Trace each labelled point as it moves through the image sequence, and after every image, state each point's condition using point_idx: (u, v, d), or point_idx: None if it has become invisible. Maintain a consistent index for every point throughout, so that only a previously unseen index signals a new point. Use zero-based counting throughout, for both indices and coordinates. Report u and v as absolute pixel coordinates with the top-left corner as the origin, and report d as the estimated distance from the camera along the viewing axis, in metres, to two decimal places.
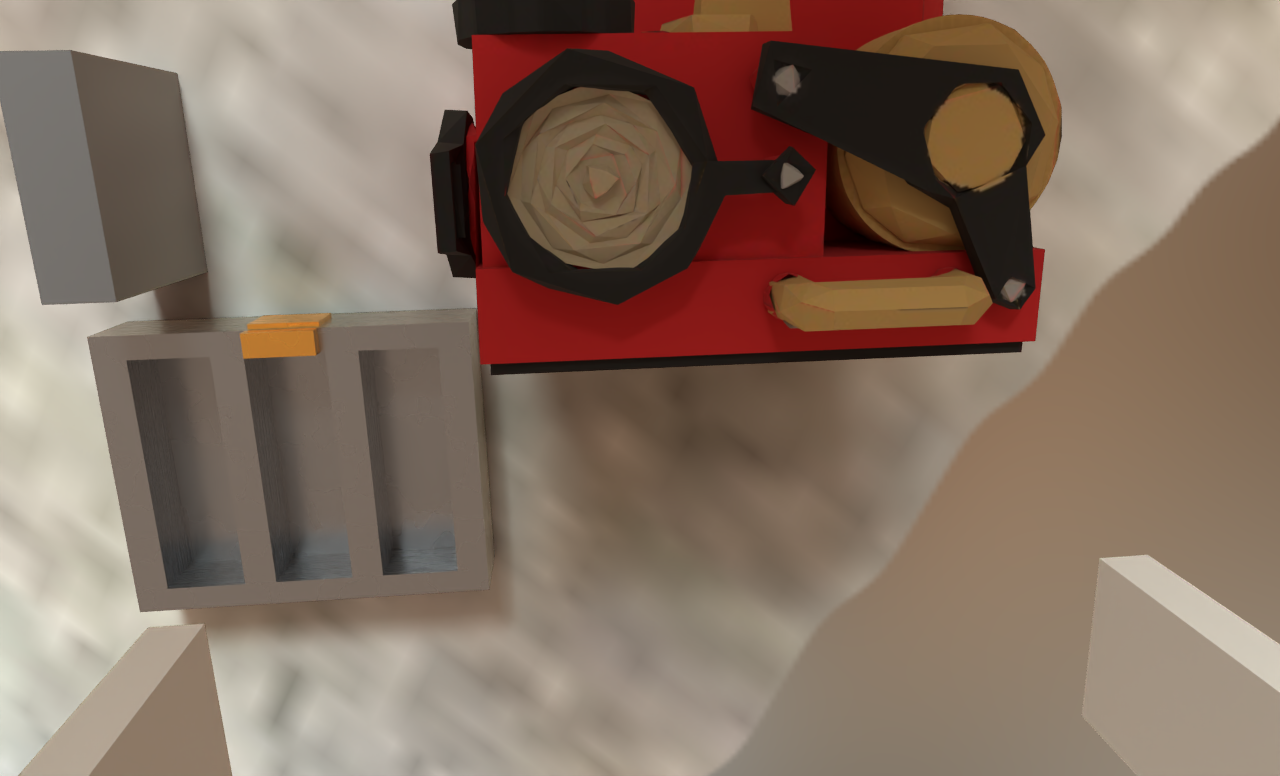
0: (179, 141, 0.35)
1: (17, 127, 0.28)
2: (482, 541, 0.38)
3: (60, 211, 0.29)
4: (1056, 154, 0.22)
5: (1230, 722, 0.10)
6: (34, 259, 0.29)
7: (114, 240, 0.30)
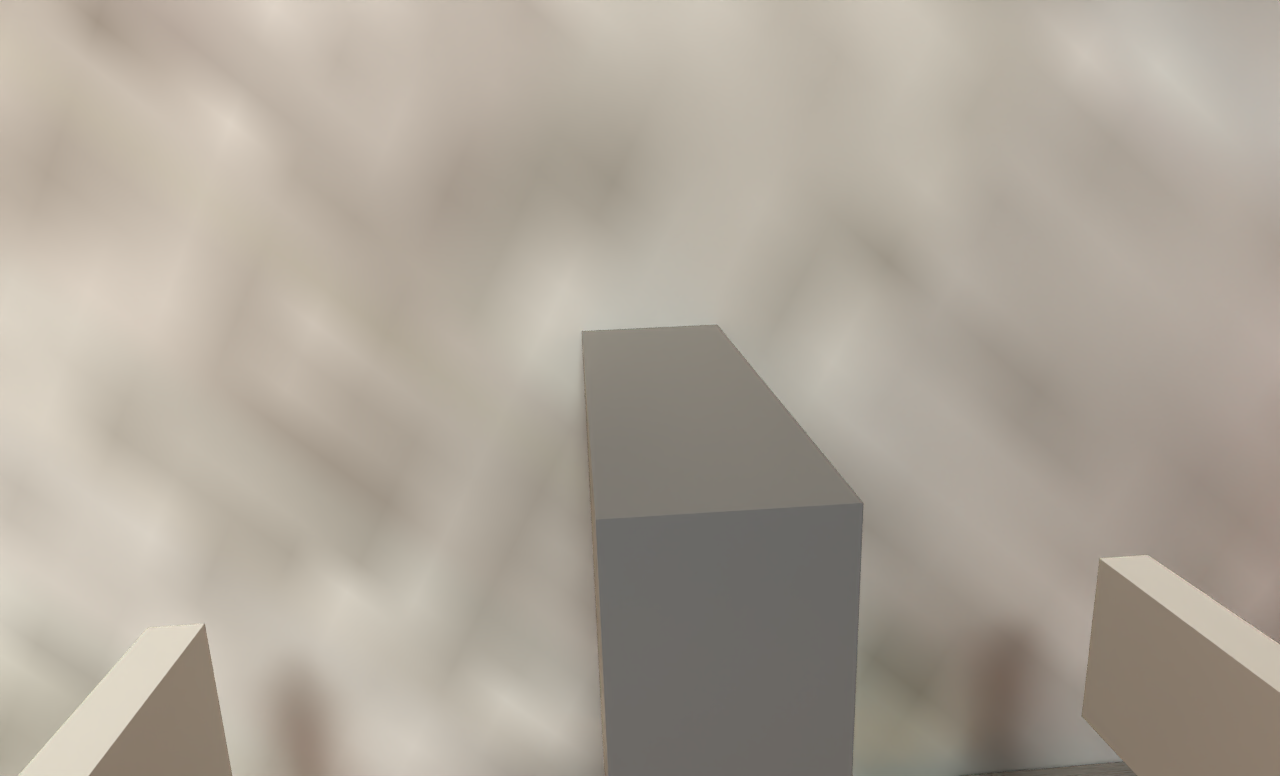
0: None
1: (643, 737, 0.08)
2: None
3: None
4: None
5: (1229, 722, 0.10)
6: None
7: None
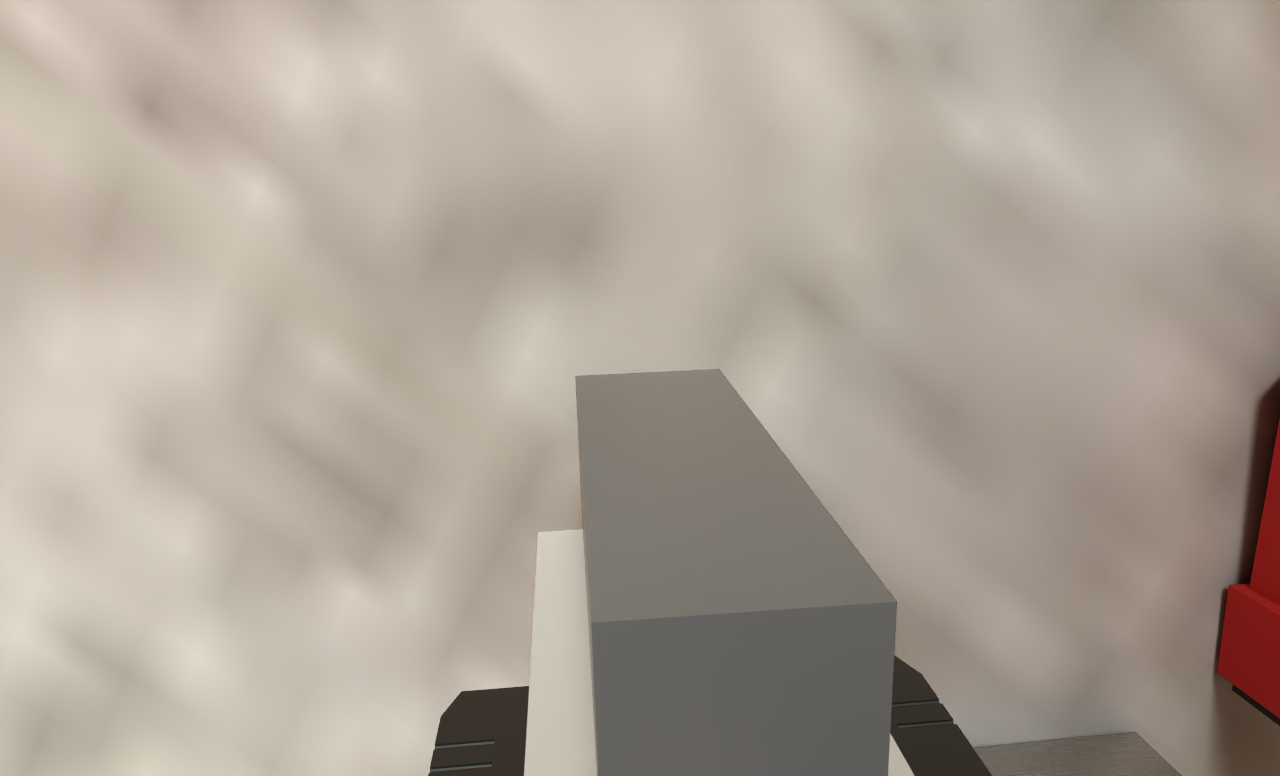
0: None
1: None
2: None
3: None
4: None
5: None
6: None
7: None
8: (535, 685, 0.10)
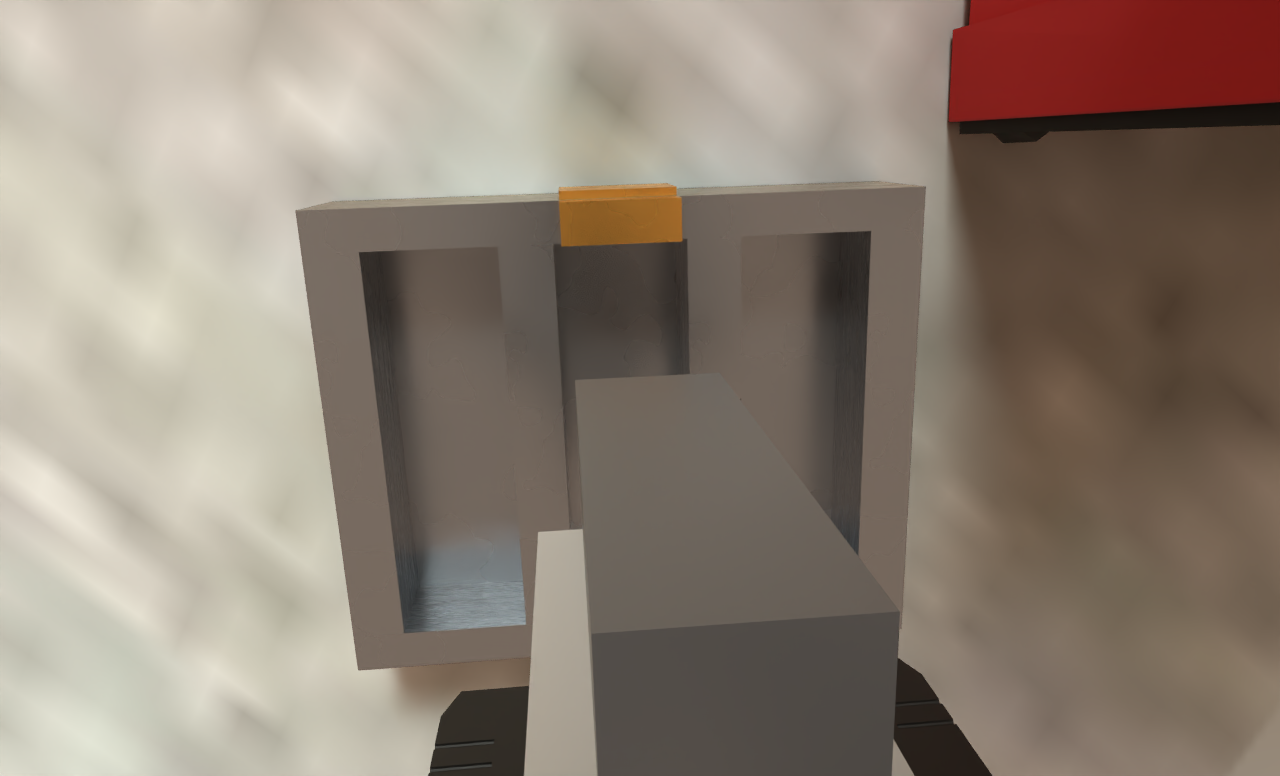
0: None
1: None
2: (901, 552, 0.24)
3: None
4: None
5: None
6: None
7: None
8: (535, 685, 0.10)
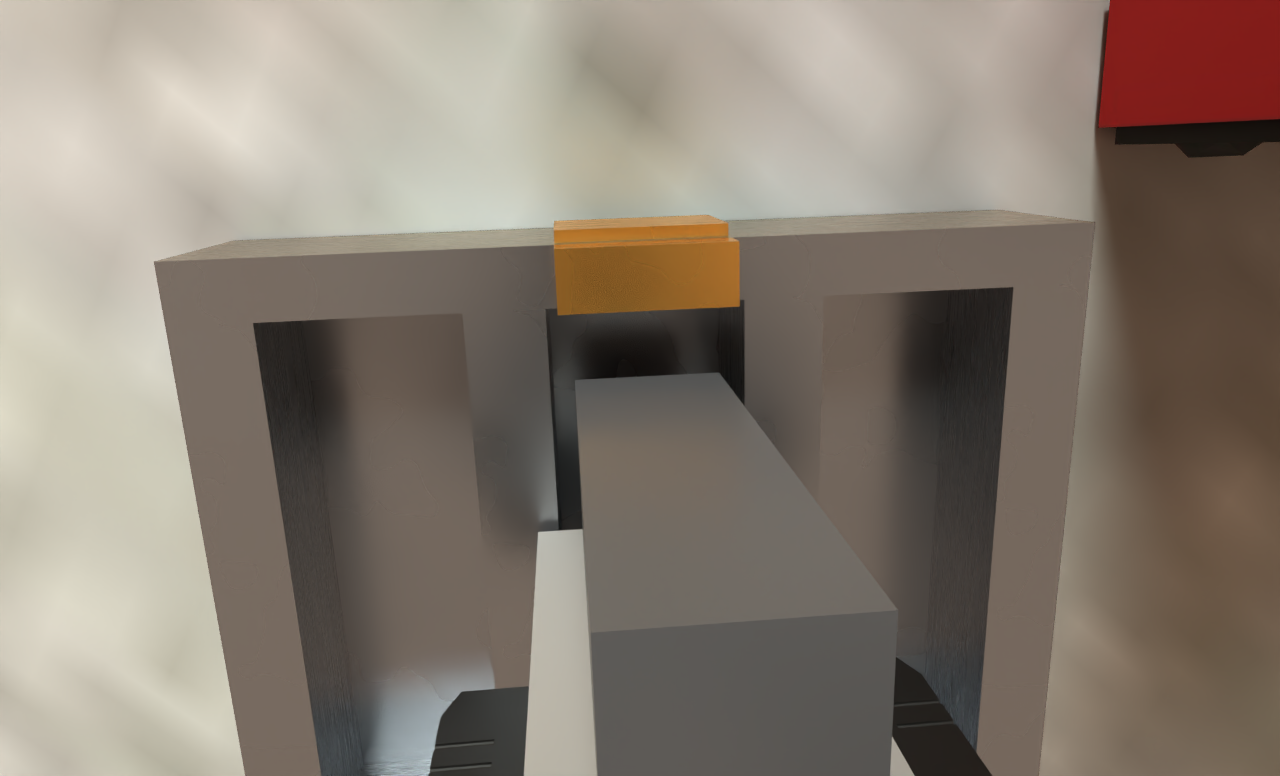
0: None
1: None
2: (1036, 733, 0.17)
3: None
4: None
5: None
6: None
7: None
8: (535, 685, 0.10)
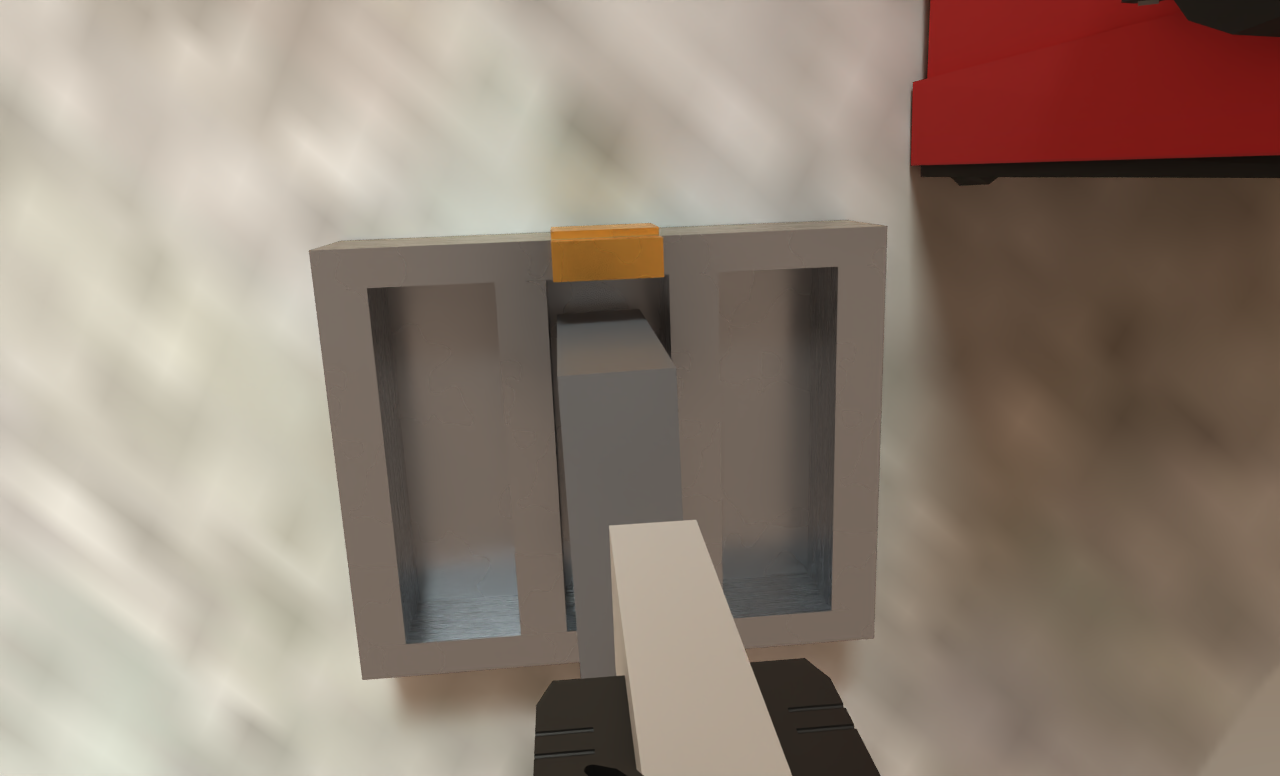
0: None
1: (582, 482, 0.18)
2: (872, 565, 0.25)
3: None
4: None
5: None
6: (580, 663, 0.19)
7: None
8: (634, 673, 0.10)
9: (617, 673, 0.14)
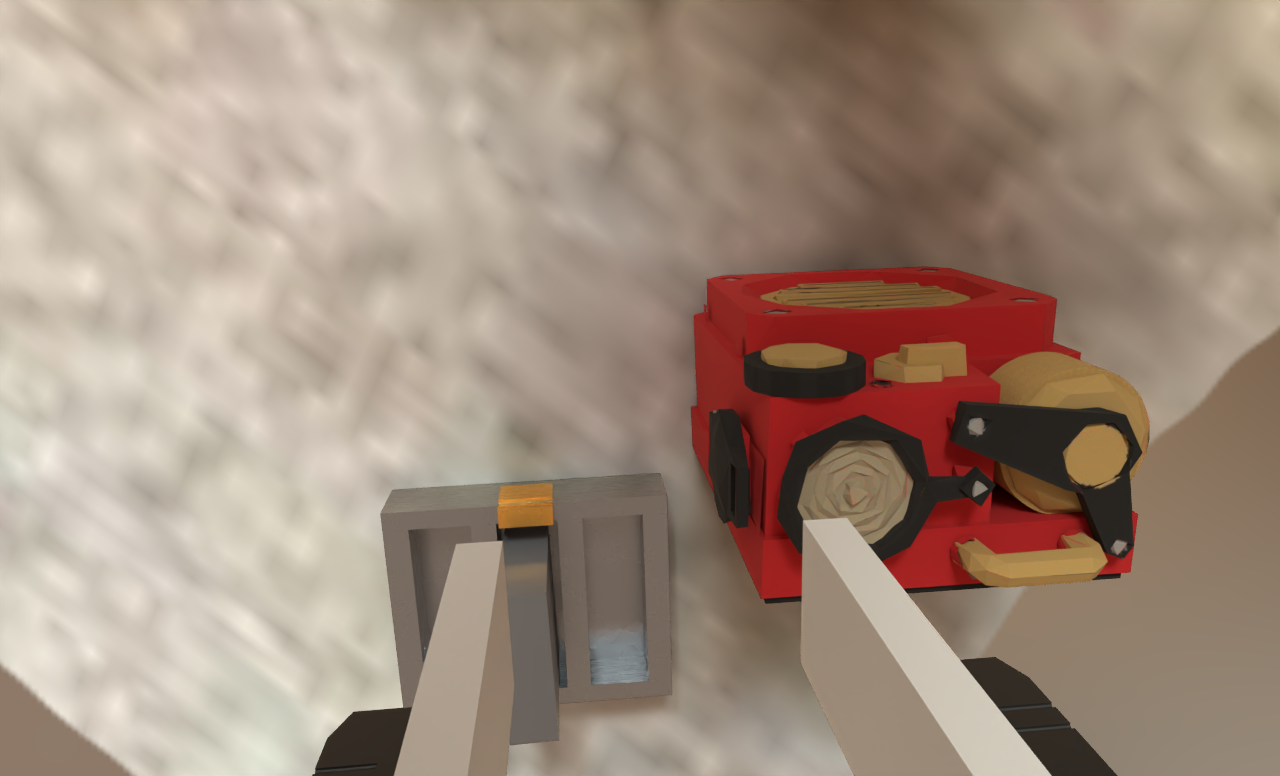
0: None
1: None
2: (669, 658, 0.48)
3: (528, 688, 0.42)
4: (1145, 450, 0.32)
5: (856, 655, 0.12)
6: None
7: None
8: (418, 707, 0.10)
9: None
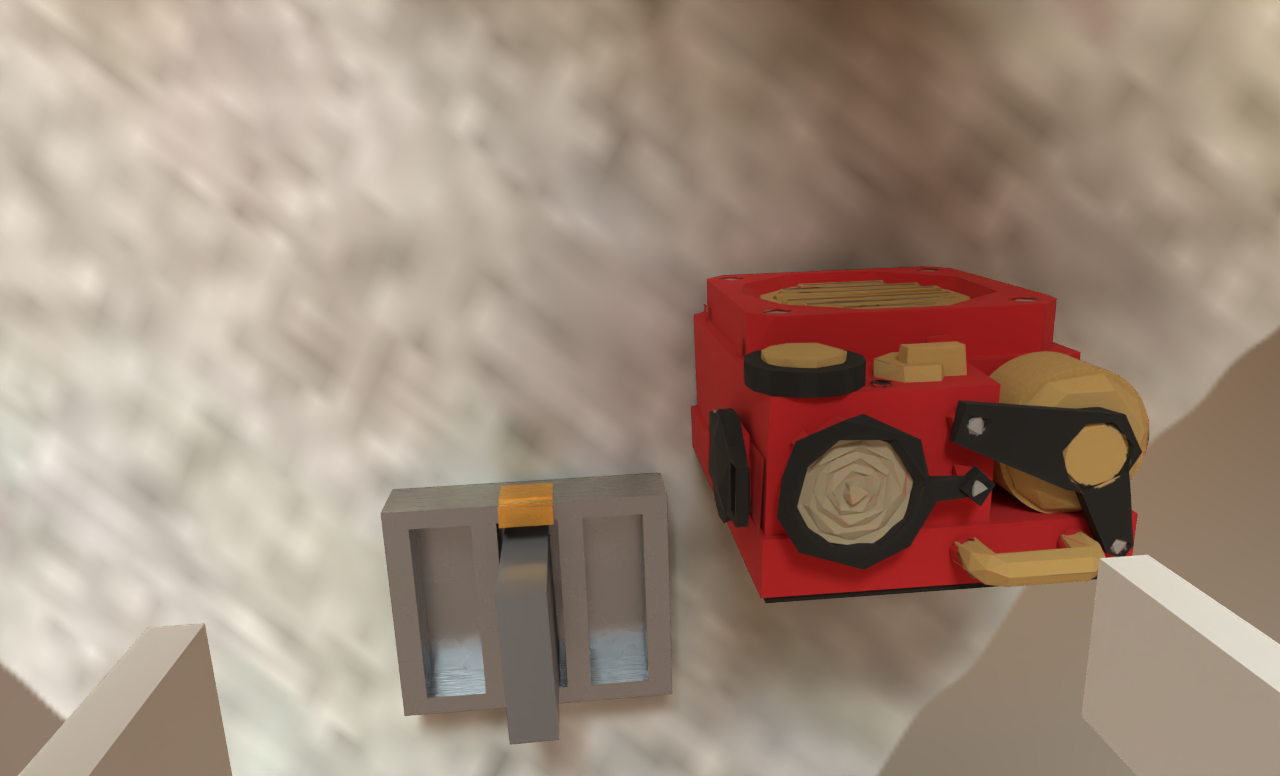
0: None
1: (506, 640, 0.41)
2: (668, 657, 0.48)
3: (528, 687, 0.42)
4: (1145, 450, 0.32)
5: (1230, 723, 0.10)
6: (507, 716, 0.42)
7: None
8: None
9: None
